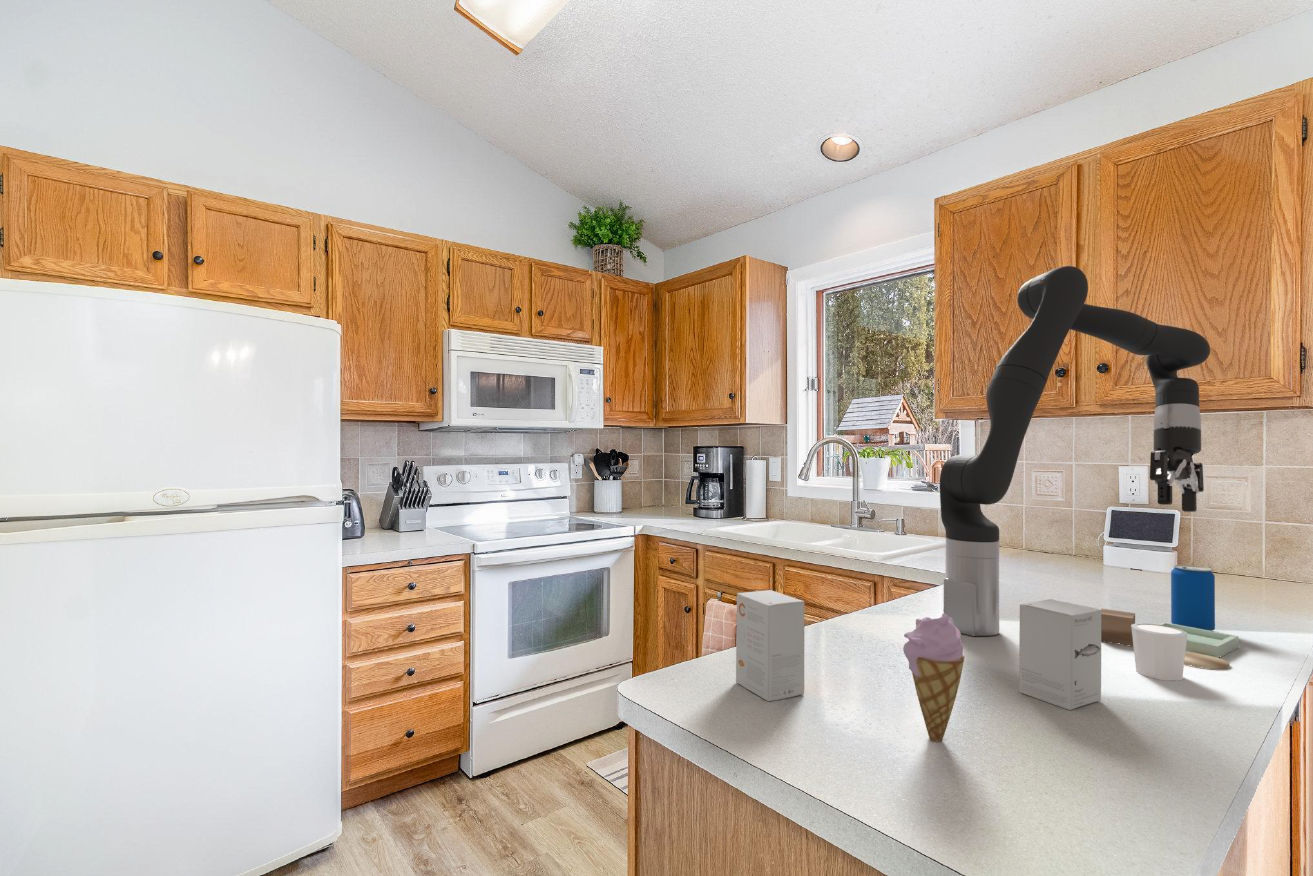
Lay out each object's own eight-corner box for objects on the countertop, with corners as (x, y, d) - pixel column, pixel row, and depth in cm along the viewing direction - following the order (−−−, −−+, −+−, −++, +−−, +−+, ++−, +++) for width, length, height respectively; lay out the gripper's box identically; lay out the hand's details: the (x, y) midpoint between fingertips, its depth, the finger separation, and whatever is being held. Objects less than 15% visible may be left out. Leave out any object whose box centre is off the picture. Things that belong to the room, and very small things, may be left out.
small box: (805, 695, 88) (806, 600, 88) (767, 702, 85) (768, 605, 85) (770, 676, 95) (771, 588, 95) (734, 682, 92) (735, 592, 93)
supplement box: (1072, 712, 83) (1071, 615, 83) (1017, 692, 90) (1017, 602, 90) (1103, 702, 86) (1103, 608, 87) (1048, 684, 93) (1048, 597, 93)
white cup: (1179, 670, 99) (1179, 625, 99) (1194, 685, 93) (1194, 637, 93) (1125, 664, 102) (1125, 620, 102) (1137, 678, 96) (1137, 631, 96)
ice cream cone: (932, 756, 70) (932, 620, 71) (891, 733, 76) (891, 607, 76) (975, 745, 73) (975, 614, 73) (932, 724, 79) (932, 602, 79)
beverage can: (1198, 625, 126) (1198, 564, 126) (1224, 635, 119) (1223, 571, 119) (1163, 624, 126) (1162, 564, 127) (1186, 633, 120) (1186, 570, 120)
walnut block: (1132, 647, 112) (1132, 618, 112) (1098, 641, 115) (1098, 613, 115) (1135, 640, 115) (1135, 613, 116) (1101, 635, 119) (1101, 608, 119)
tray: (1217, 658, 105) (1217, 646, 105) (1138, 641, 114) (1138, 630, 115) (1238, 647, 112) (1238, 636, 112) (1162, 632, 121) (1162, 621, 121)
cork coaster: (1220, 675, 99) (1220, 670, 99) (1157, 660, 105) (1157, 656, 105) (1236, 666, 103) (1236, 661, 103) (1175, 652, 110) (1175, 648, 110)
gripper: (1175, 438, 136) (1175, 514, 133) (1136, 424, 130) (1135, 502, 127) (1218, 434, 129) (1219, 514, 126) (1178, 419, 124) (1178, 501, 121)
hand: (1177, 508), depth 127 cm, fingers open, 8 cm apart
